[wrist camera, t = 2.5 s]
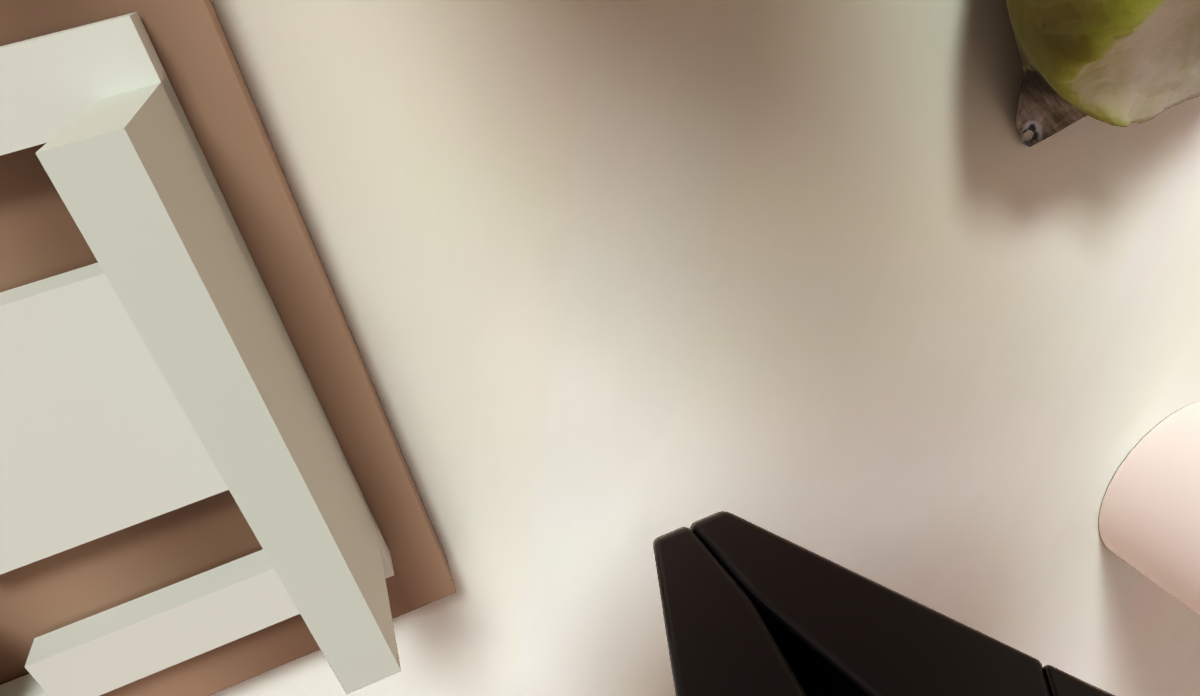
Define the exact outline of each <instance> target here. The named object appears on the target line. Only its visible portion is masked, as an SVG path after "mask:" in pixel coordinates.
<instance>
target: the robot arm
mask: <svg viewBox="0 0 1200 696" xmlns="http://www.w3.org/2000/svg"><path fill="white" fill-rule="evenodd" d="M653 547H654V554H655V561H656V568H657V574H658V581H659V588H660V595H661V601H662V608H663V615H664V621H665V628H666V635H667V641H668V648H669V655H670V661H671V668H672V675H673V681H674V688H675V695H676V696H1115V695H1113V694H1110V693H1108V692H1106V691H1104V690H1102V689H1099V688H1097V687H1095V686H1093V685H1090V684H1088V683H1086V682H1084V681H1082V680H1080V679H1078V678H1076V677H1074V676H1072V675H1070V674H1067V673H1065V672H1063V671H1061V670H1059V669H1057V668H1055V667H1053V666H1051V665H1046V666H1044V667H1042V664H1041V663H1040V661H1039V660H1037V659H1035V658H1033V657H1031V656H1029V655H1027V654H1025V653H1023V652H1021V651H1019V650H1016V649H1014V648H1012V647H1010V646H1008V645H1006V644H1004V643H1002V642H1000V641H998V640H995V639H993V638H991V637H989V636H987V635H985V634H983V633H981V632H979V631H977V630H975V629H972V628H970V627H968V626H966V625H964V624H962V623H960V622H958V621H956V620H954V619H951V618H949V617H947V616H945V615H943V614H941V613H939V612H937V611H935V610H933V609H931V608H928V607H926V606H924V605H922V604H920V603H918V602H916V601H914V600H912V599H910V598H907V597H905V596H903V595H901V594H899V593H897V592H895V591H893V590H891V589H889V588H887V587H884V586H882V585H880V584H878V583H876V582H874V581H872V580H870V579H868V578H866V577H863V576H861V575H859V574H857V573H855V572H853V571H851V570H849V569H847V568H845V567H843V566H840V565H838V564H836V563H834V562H832V561H830V560H828V559H826V558H824V557H822V556H819V555H817V554H815V553H813V552H811V551H809V550H807V549H805V548H803V547H801V546H799V545H796V544H794V543H792V542H790V541H788V540H786V539H784V538H782V537H780V536H778V535H775V534H773V533H771V532H769V531H767V530H765V529H763V528H761V527H759V526H757V525H755V524H752V523H750V522H748V521H746V520H744V519H742V518H740V517H738V516H736V515H734V514H731V513H729V512H724V511H721V512H718V513H715V514H713V515H710V516H708V517H706V518H703V519H701V520H698V521H696V522H694V523H693V524H692V525H691V527H690V529H689V528H687V527H682V528H679V529H677V530H674V531H672V532H670V533H667V534H665V535H662V536H660V537H658V538H656V539H655V540H654V543H653Z"/></svg>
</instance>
